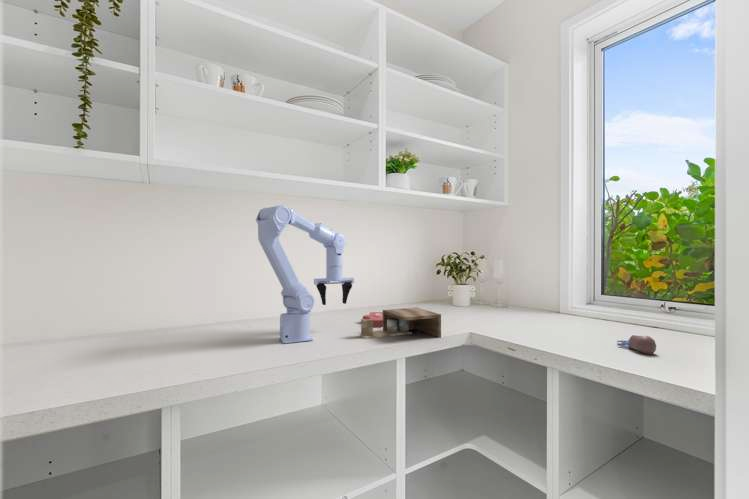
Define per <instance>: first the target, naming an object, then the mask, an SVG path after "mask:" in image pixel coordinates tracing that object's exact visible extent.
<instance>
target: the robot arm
mask: <svg viewBox="0 0 749 499" xmlns="http://www.w3.org/2000/svg"><path fill="white" fill-rule="evenodd" d="M255 221H256V223H257V238H258V243H259V244H260V246H261V247H262V248H261V249H262V250H263V252H264V254H265V257H266V258H267V260H268V262H269V264H270V266H271V268H272V269H273V272H274V274H275V275H276V277H277V280H278V281H279V283H280V286H281V288H282V289H281V292H280V295H281V296H282V302H283V306H284V308H286V312H285V313H283V312H282V313H281V314H280V315H279V316H280V317H279V339H280V341H281V342H282V344H290V343H291V344H292V343H300V342H309V341H311V342H312V341H313V340H314V338H313V337H312V335H310V332H311V331H310V330H311V328H310V327H311V323H310V322H311V321H310V320H311V319H310V318H311V315H310V314H311V311H312V309H313V308H314V305H315V297H314V296H313V295H314V294H312V293H310V292H309V290H308V289H307V287H306V286H305V285H304V284H302V283H301V282H300V281H299V279H298V276H297V274H296V272H295V271H294V269H293V266H292V265H291V262H290V260H289V259H288V256H287V254H286V252H285V250H284V248H283V246H282V243H281V242H280V239H279V238H280V236H281V234H282V232H283V231H284V230H285V228H286V227H287V226H288V225H290V226H292V227H295V228H298V229H300V230H301V231H303V232H306V233H308V236H309V238H311V239H312V240H314V241H316V242H318V243H320V244H322V245H323V247H324V248H325V249H326V250H325V252H326V258H325V261H326V265H325V268H326V271H325V273H326V275H325V276H326V278H314V279H313V285H315V286H316V289H317V291H318V292H319V296H320V299H321V304H322V306H326V304H327V301H326V300H327V298H326V297H327V296H326V295H327V294H326V293H327V285H337V284H339V285H340V284H341V288H342V289H341V290H342V304H345V305H346V304H347V301H348V298H349V294H350V291H351V290H352V287H353V284H355V278H354V277H343V253H344V248H345V246H346V244H347V242H346V239H345V236H344V235H343V234H342V233H341V232H335V231H334V229H329V228H328V227H326V226H325V224H324V223H322V222H320V223H319V222H318V223H312V222H310V221H309V220H307V218H304V217H303V216H301V215H300V214H298V213H296V212H295V211H294V210H293V208H290V207H287V206H286V205H283V204H277V205H275V206H269V207H263V208H261V209H260V210H259V211H258V213H257V216H256V218H255Z"/></svg>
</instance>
